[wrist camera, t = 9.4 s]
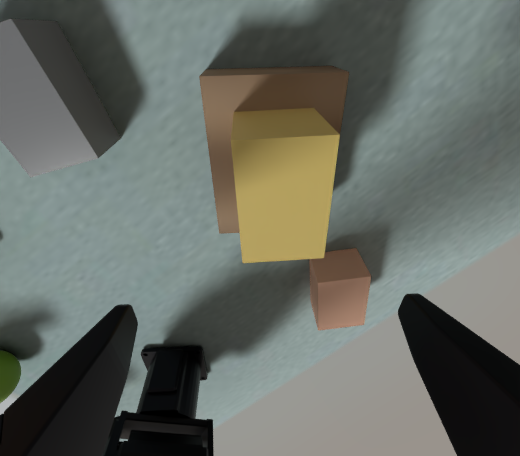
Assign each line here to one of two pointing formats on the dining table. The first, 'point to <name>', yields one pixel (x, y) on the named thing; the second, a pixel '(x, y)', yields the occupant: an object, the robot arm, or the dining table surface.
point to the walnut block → (257, 99)
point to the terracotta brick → (339, 289)
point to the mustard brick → (283, 182)
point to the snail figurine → (8, 374)
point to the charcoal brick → (48, 100)
